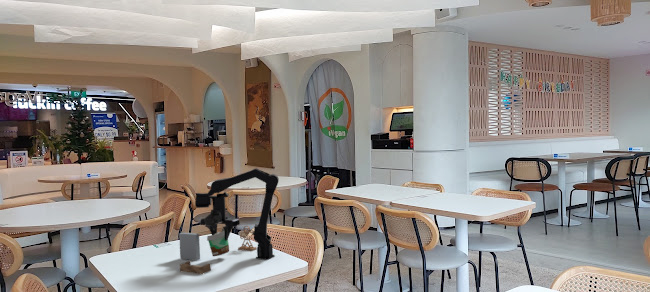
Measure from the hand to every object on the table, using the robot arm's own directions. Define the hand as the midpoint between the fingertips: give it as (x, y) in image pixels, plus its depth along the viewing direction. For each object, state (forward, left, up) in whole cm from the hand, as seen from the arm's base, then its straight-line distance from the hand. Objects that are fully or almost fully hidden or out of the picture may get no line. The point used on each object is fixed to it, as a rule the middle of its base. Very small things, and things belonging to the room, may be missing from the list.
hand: (220, 240), depth 214 cm
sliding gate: (+15, +4, -9) cm, 18 cm away
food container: (-1, -1, -6) cm, 6 cm away
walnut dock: (0, +18, -9) cm, 20 cm away
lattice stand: (-1, -20, -10) cm, 22 cm away
